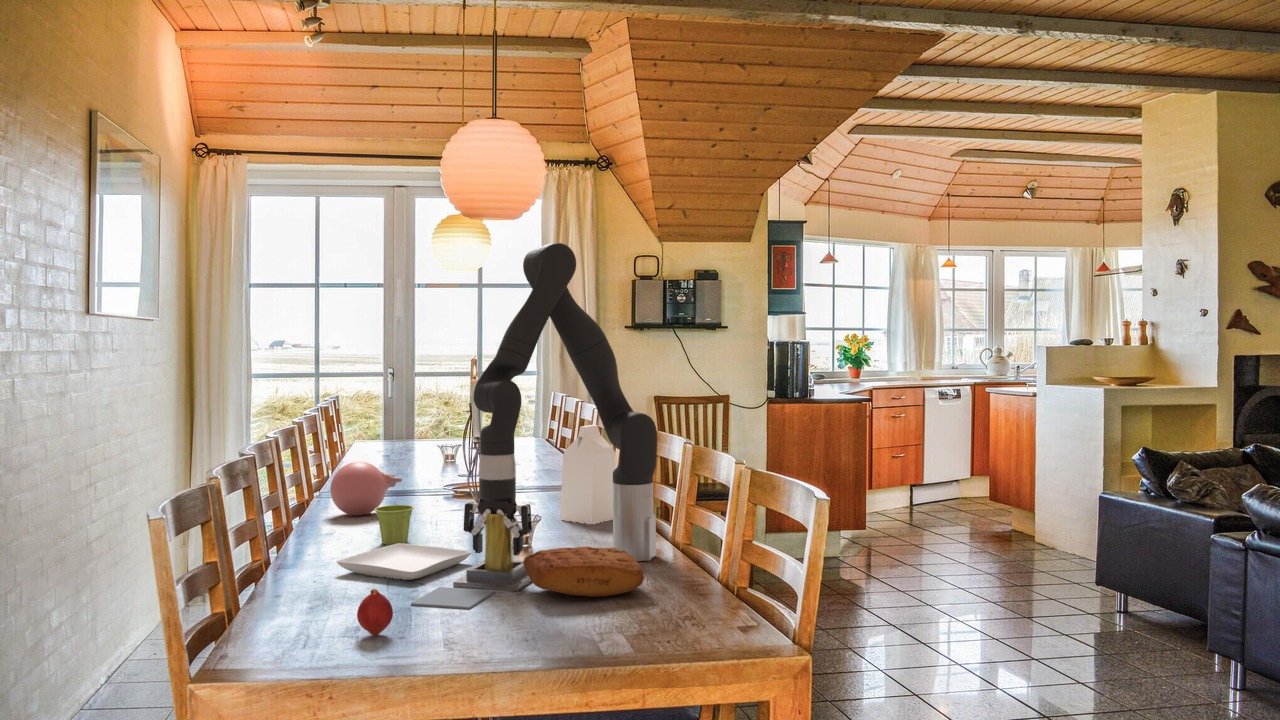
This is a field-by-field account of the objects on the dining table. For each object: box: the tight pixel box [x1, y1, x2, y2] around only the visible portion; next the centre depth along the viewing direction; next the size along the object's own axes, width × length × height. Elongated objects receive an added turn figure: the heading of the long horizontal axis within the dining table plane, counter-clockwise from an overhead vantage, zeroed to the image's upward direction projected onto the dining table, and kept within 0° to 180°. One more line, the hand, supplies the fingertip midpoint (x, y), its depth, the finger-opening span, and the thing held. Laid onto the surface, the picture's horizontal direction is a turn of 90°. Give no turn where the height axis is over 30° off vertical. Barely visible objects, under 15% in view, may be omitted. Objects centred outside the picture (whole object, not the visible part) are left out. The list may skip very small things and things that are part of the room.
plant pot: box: [374, 504, 414, 546], centre depth 234 cm, size 9×9×9 cm
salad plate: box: [336, 543, 472, 581], centre depth 207 cm, size 21×21×3 cm
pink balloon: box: [329, 461, 403, 517], centre depth 273 cm, size 15×20×15 cm
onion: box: [356, 588, 394, 637], centre depth 160 cm, size 6×6×8 cm
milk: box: [559, 424, 617, 525], centre depth 263 cm, size 12×12×26 cm
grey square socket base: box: [452, 559, 532, 592], centre depth 196 cm, size 14×14×3 cm
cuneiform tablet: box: [523, 546, 645, 597], centre depth 186 cm, size 22×17×8 cm
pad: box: [410, 586, 496, 610], centre depth 183 cm, size 12×12×1 cm
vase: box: [484, 513, 514, 571], centre depth 196 cm, size 6×6×14 cm
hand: (497, 553), depth 196 cm, fingers open, 8 cm apart
